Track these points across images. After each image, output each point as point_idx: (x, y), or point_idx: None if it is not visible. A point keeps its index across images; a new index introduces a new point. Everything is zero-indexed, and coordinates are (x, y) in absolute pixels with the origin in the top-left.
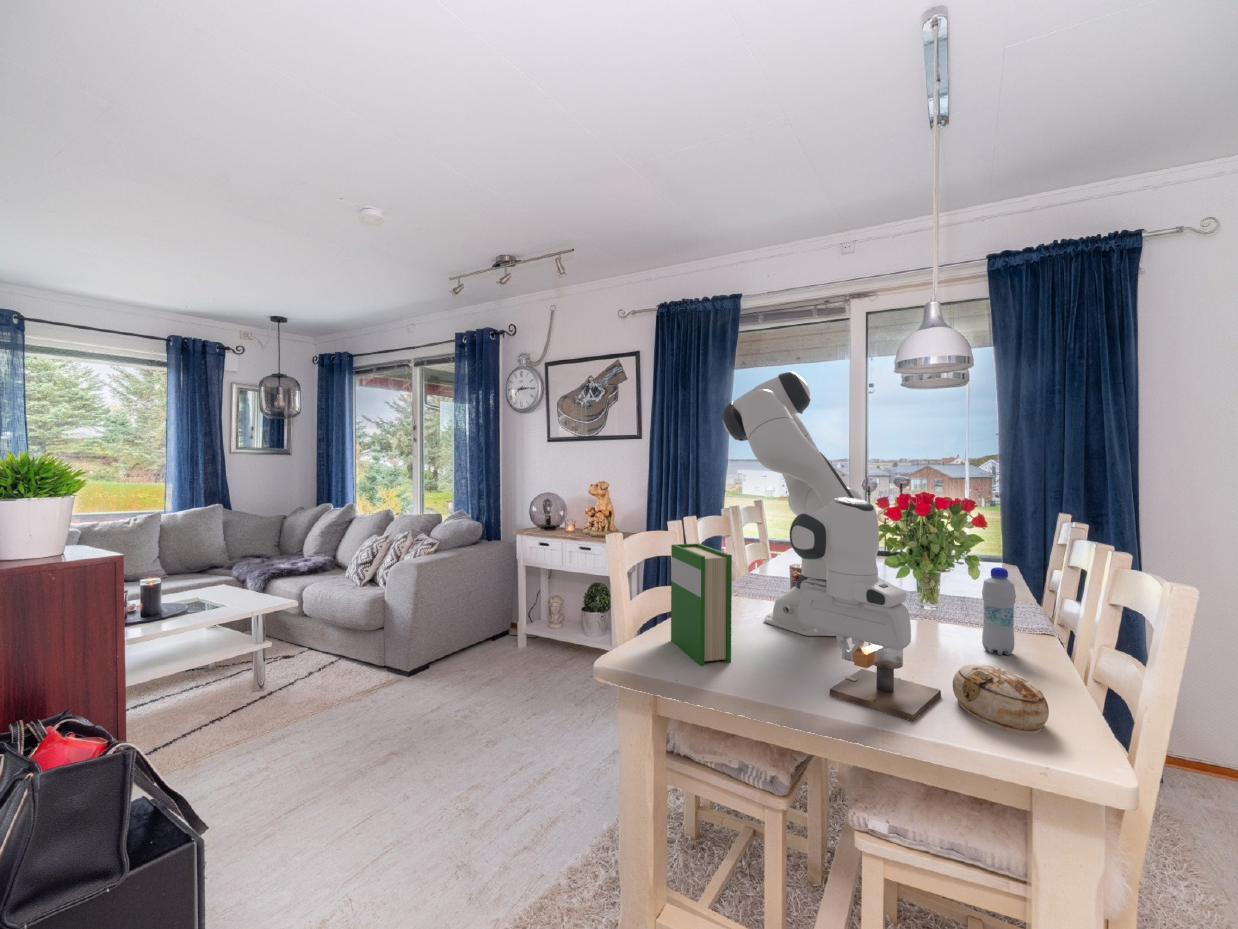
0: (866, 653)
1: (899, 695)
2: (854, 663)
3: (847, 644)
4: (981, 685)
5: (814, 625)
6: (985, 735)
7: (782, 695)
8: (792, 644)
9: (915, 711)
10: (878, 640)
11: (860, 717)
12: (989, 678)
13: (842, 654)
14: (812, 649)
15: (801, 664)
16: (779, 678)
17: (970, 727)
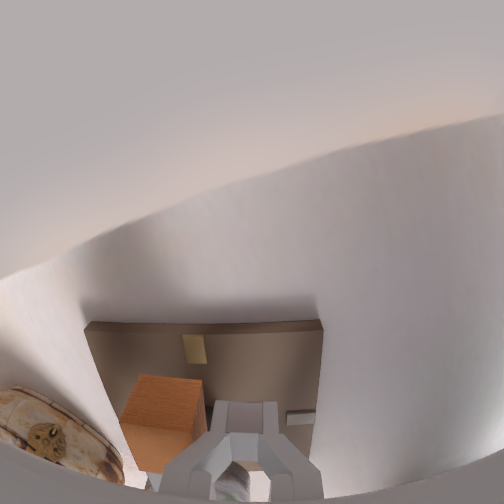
0: (131, 434)
1: None
2: (197, 385)
3: (269, 475)
4: (26, 446)
5: (473, 476)
6: (15, 349)
7: (422, 209)
8: (458, 452)
9: (92, 351)
10: (19, 471)
11: (178, 246)
12: None
13: (274, 416)
14: (423, 465)
15: (433, 410)
16: (461, 308)
17: (39, 365)
